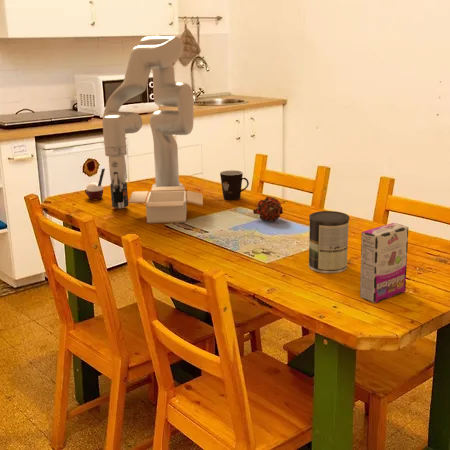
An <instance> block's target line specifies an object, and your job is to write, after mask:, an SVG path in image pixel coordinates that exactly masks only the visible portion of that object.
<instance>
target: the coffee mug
mask: <svg viewBox="0 0 450 450" xmlns="http://www.w3.org/2000/svg"><path fill="white" fill-rule="evenodd" d="M243 174H244V173H243V171H240V170H233V169H231V170H223V171H220V172H219V176H220V182H221V183H220V184H221V190H222V195H223V196H222V198H223V200H224V201H228V202H229V201H238V200H240V199H241V196H242V195H241V194H242V192H243V191H245V190H246V189H247V188H248V187H249V184H250V183H249V180H248V179H247V178H246V177H243V176H244V175H243ZM243 180H245V181H246V186H245V187H244V188H242V186H243Z"/></svg>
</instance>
